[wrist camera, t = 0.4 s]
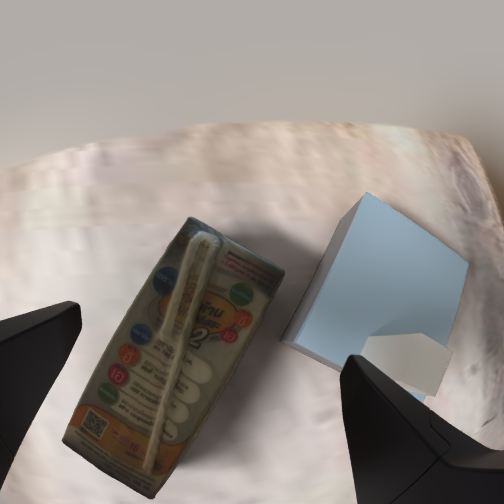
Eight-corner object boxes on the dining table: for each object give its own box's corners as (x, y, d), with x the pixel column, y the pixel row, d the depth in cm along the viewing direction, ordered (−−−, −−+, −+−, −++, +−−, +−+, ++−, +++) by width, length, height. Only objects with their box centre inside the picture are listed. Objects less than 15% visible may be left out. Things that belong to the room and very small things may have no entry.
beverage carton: (277, 285, 25) (295, 267, 19) (167, 473, 20) (151, 510, 13) (194, 238, 25) (185, 206, 19) (88, 423, 20) (52, 444, 14)
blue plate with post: (416, 401, 18) (477, 415, 11) (293, 342, 19) (328, 344, 12) (462, 265, 21) (518, 242, 15) (362, 196, 22) (406, 148, 15)
